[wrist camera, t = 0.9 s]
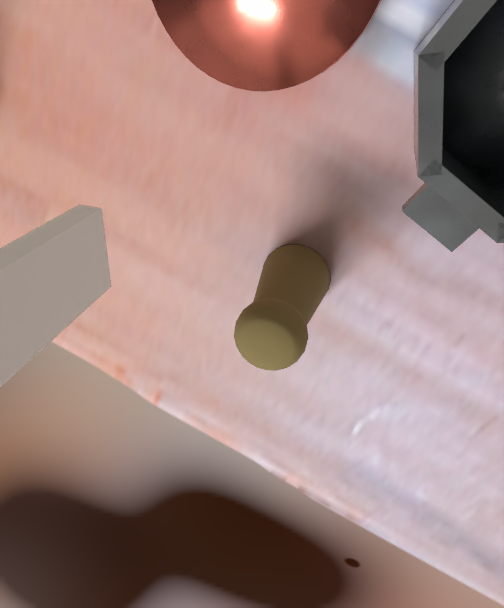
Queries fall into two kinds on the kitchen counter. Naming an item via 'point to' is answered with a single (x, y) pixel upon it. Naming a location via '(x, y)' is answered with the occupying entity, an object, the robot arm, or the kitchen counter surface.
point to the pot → (460, 124)
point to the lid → (264, 37)
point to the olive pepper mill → (282, 307)
